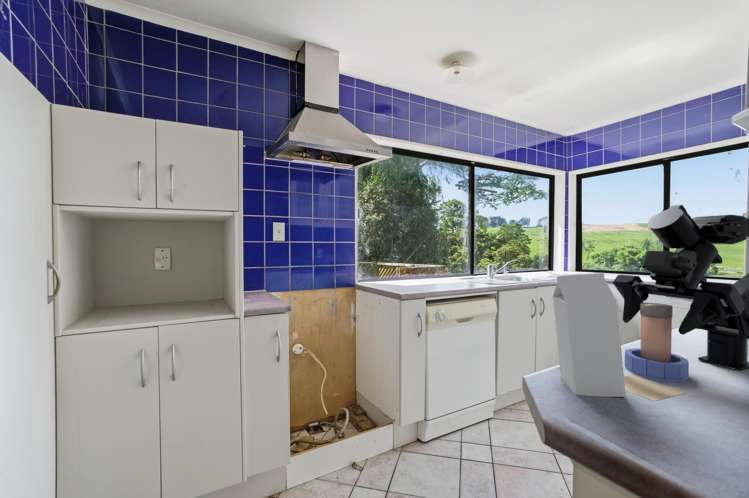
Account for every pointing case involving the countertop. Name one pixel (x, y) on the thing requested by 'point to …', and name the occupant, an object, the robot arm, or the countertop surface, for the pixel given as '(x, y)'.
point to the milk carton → (588, 336)
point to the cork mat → (649, 388)
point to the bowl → (657, 367)
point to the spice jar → (656, 331)
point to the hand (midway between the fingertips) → (650, 326)
